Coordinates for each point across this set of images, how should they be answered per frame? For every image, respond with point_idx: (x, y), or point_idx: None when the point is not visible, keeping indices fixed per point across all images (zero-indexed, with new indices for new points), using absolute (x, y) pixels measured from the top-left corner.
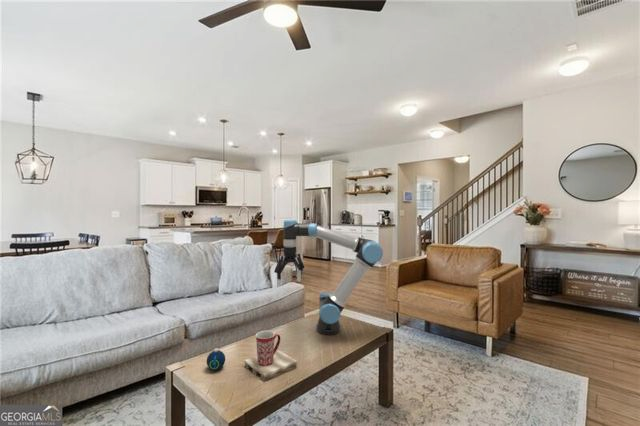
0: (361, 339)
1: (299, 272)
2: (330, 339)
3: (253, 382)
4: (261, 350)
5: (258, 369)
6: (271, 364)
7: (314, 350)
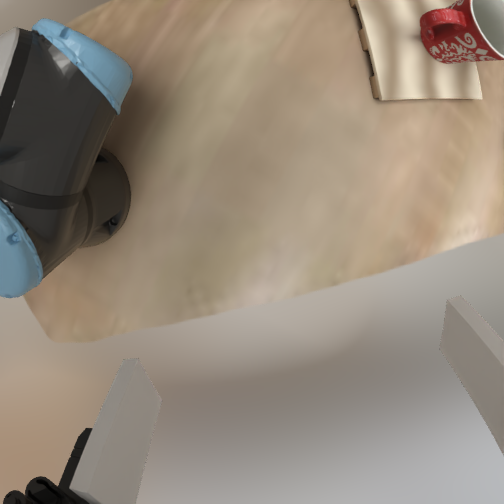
0: None
1: (103, 468)
2: None
3: None
4: (485, 21)
5: None
6: None
7: (227, 46)
